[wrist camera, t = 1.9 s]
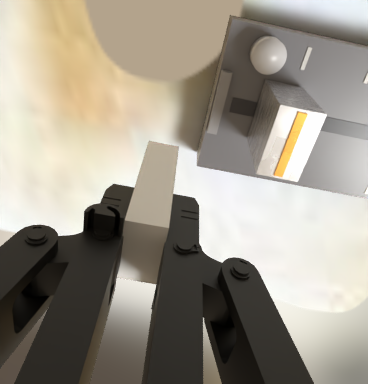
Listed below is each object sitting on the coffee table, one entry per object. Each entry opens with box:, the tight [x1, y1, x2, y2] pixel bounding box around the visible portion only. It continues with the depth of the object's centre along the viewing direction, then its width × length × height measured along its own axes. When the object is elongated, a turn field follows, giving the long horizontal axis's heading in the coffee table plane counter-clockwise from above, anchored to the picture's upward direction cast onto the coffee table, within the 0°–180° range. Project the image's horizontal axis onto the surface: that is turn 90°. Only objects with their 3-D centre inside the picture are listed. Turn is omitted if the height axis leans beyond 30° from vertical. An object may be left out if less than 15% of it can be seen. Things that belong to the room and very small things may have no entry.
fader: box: [247, 79, 327, 182], centre depth 25 cm, size 5×3×6 cm, turn 169°
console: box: [197, 15, 368, 199], centre depth 29 cm, size 12×22×4 cm, turn 79°
